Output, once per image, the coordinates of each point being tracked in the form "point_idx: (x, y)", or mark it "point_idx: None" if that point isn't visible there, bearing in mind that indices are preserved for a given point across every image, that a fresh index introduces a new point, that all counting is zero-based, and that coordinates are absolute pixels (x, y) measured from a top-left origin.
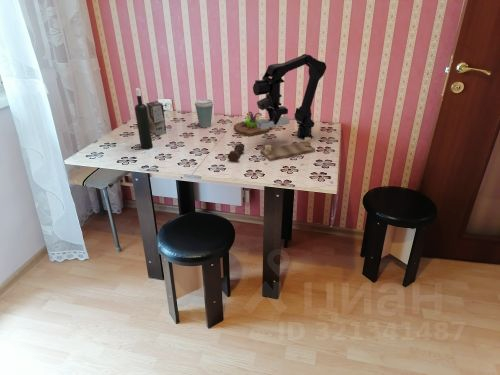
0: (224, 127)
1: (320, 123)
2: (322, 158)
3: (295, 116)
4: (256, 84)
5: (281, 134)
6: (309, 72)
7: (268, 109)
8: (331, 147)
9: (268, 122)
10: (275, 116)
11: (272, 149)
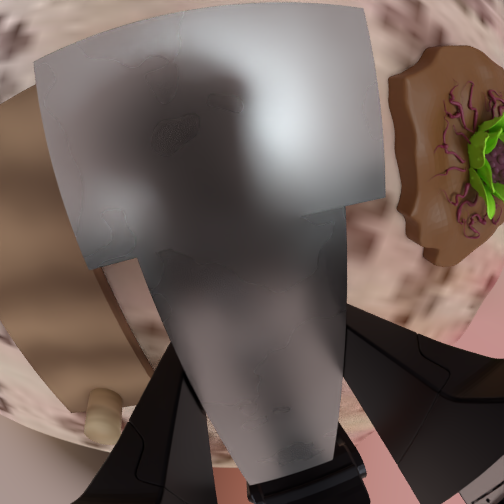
0: (498, 37)
1: (369, 430)
2: (14, 398)
3: (342, 463)
4: None
5: (348, 300)
6: None
7: (495, 438)
8: None
9: (92, 258)
10: (108, 489)
11: (34, 185)
